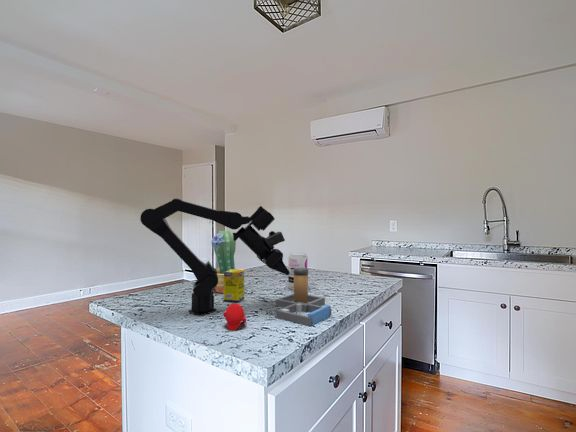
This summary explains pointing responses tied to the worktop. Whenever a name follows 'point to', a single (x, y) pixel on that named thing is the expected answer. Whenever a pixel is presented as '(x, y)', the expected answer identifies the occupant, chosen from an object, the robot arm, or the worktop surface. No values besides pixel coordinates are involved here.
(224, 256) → the potted cactus
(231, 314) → the red lumpy figurine
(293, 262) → the supplement can
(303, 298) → the vitamin jar
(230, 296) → the supplement box
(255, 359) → the worktop surface
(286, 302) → the divided tray
